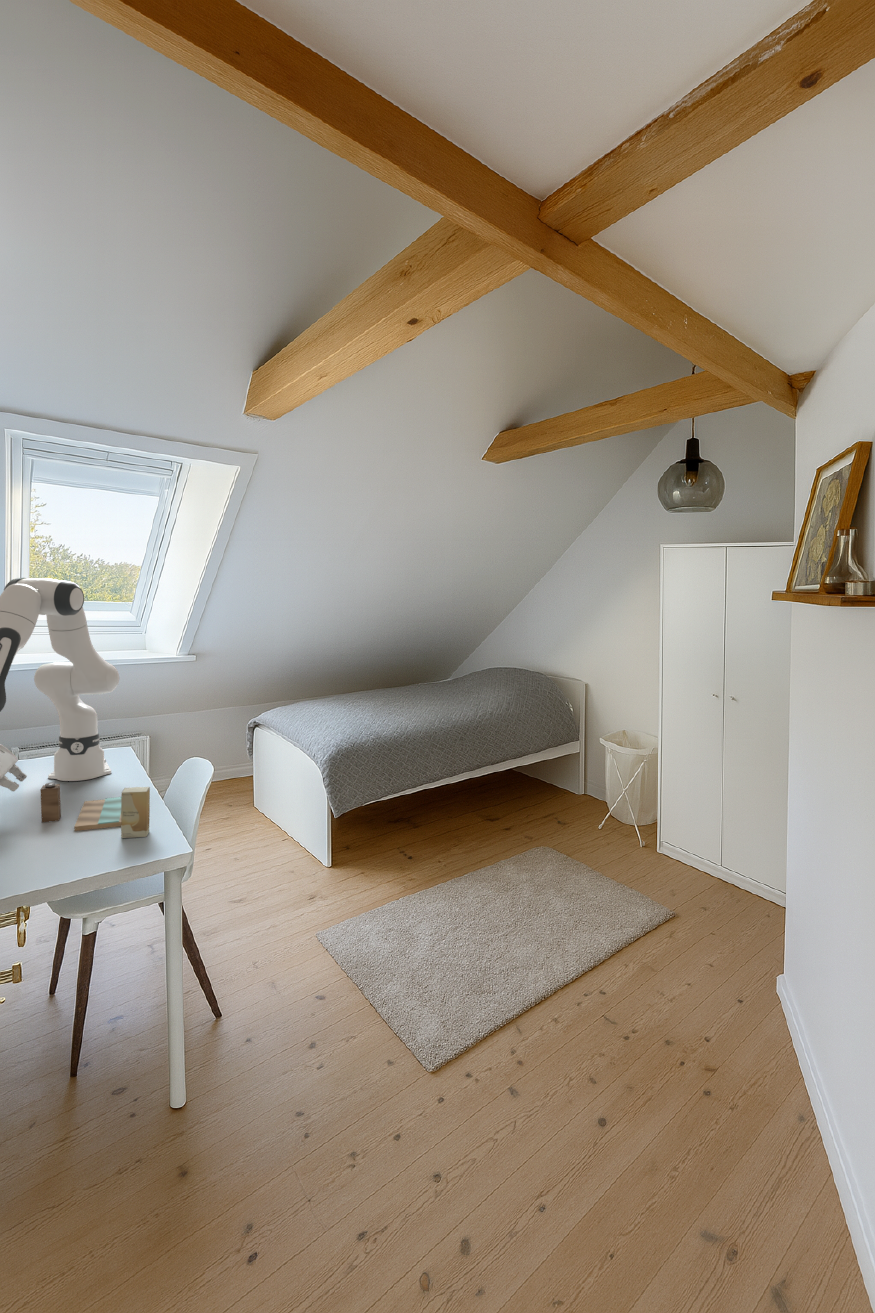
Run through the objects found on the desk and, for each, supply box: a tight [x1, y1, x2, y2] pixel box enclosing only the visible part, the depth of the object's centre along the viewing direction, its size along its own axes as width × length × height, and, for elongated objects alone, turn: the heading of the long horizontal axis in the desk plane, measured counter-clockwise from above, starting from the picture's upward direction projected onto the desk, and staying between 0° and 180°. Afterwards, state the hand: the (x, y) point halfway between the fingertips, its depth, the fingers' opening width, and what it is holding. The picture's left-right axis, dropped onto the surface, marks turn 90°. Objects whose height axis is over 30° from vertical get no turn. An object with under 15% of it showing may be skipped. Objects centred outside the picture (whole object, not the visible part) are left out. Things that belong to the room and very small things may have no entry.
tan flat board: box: [73, 796, 121, 832], centre depth 178 cm, size 22×15×2 cm
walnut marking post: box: [40, 782, 62, 823], centre depth 173 cm, size 4×4×10 cm
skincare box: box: [120, 786, 151, 839], centre depth 164 cm, size 6×4×12 cm
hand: (20, 784), depth 170 cm, fingers open, 8 cm apart
